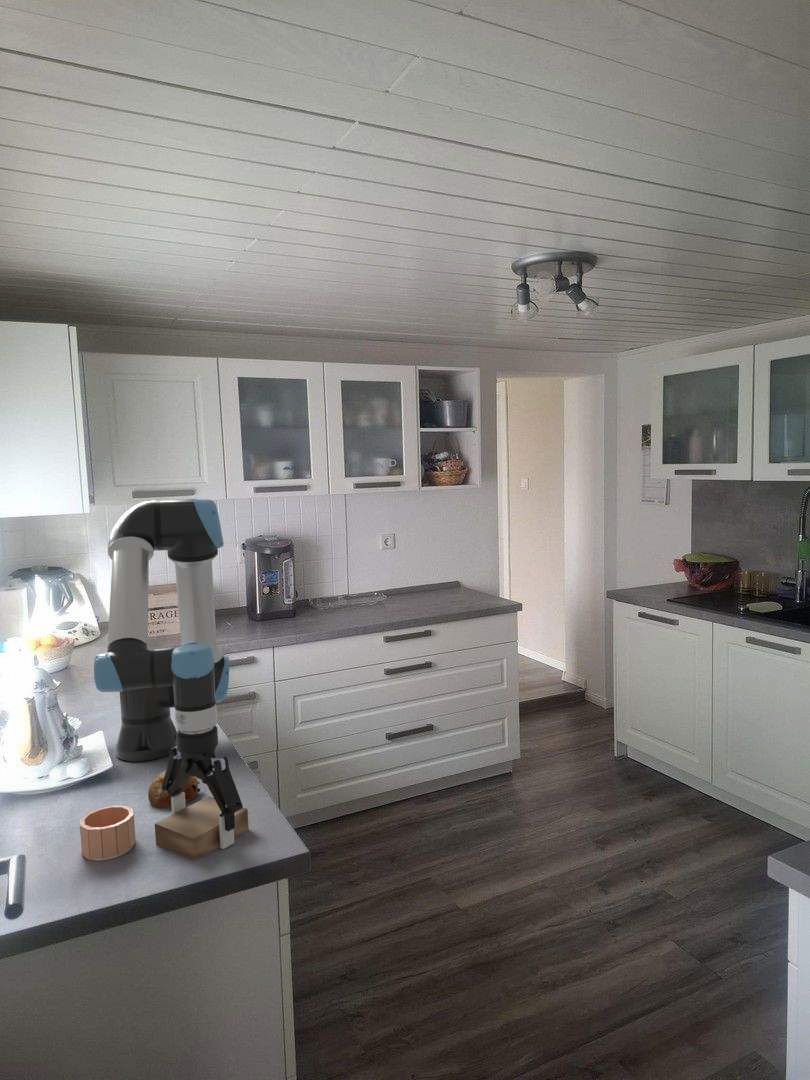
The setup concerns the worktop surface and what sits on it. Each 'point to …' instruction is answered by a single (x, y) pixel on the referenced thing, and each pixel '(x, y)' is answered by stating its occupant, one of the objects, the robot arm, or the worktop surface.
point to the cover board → (196, 829)
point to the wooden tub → (107, 832)
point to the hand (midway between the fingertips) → (203, 836)
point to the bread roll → (162, 797)
